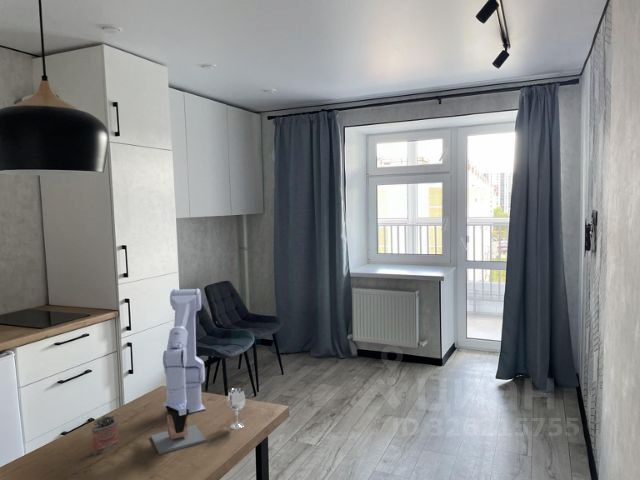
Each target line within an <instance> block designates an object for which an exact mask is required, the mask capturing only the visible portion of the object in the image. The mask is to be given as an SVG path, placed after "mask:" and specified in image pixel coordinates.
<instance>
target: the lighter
mask: <svg viewBox="0 0 640 480" xmlns="http://www.w3.org/2000/svg"><path fill="white" fill-rule="evenodd" d="M93 425H94V427H92V428H91V434H92V446H93V447H92V455H93V456H98V455H102V454H104V453H107V452H109V451H112V450H114V449H115V448H116V447H118V446H120V440H119V427H118V426H119V420H118V419H115V415H114V414H110V415H106V414H105V415H103V416H102V418H101V417H100V418H97V419H95V420H94V421H93Z"/></svg>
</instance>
